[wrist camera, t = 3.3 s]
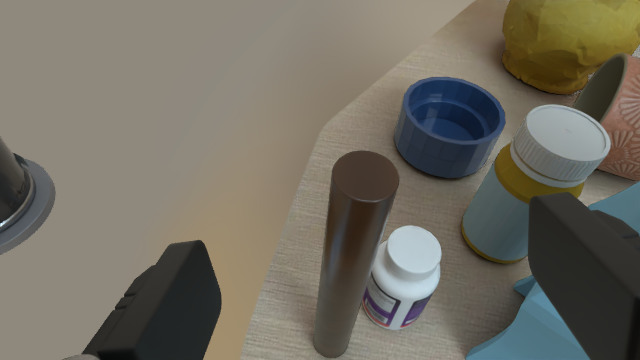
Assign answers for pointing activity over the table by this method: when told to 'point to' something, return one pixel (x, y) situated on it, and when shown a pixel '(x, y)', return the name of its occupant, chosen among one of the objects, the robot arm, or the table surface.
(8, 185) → the robot arm
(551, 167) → the bottle
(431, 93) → the bowl
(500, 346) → the vase
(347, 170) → the stirring stick
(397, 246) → the pill bottle
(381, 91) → the table surface
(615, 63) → the planter
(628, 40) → the pitcher
